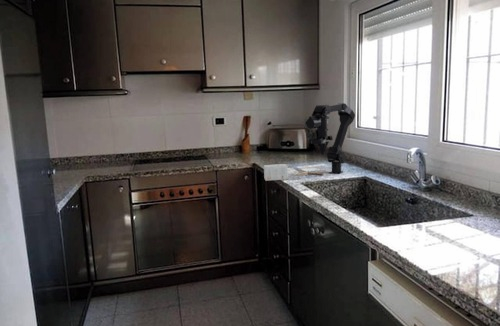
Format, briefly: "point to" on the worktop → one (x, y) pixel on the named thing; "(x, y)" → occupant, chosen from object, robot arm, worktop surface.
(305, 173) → the wooden turner
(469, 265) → the worktop surface
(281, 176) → the small box
